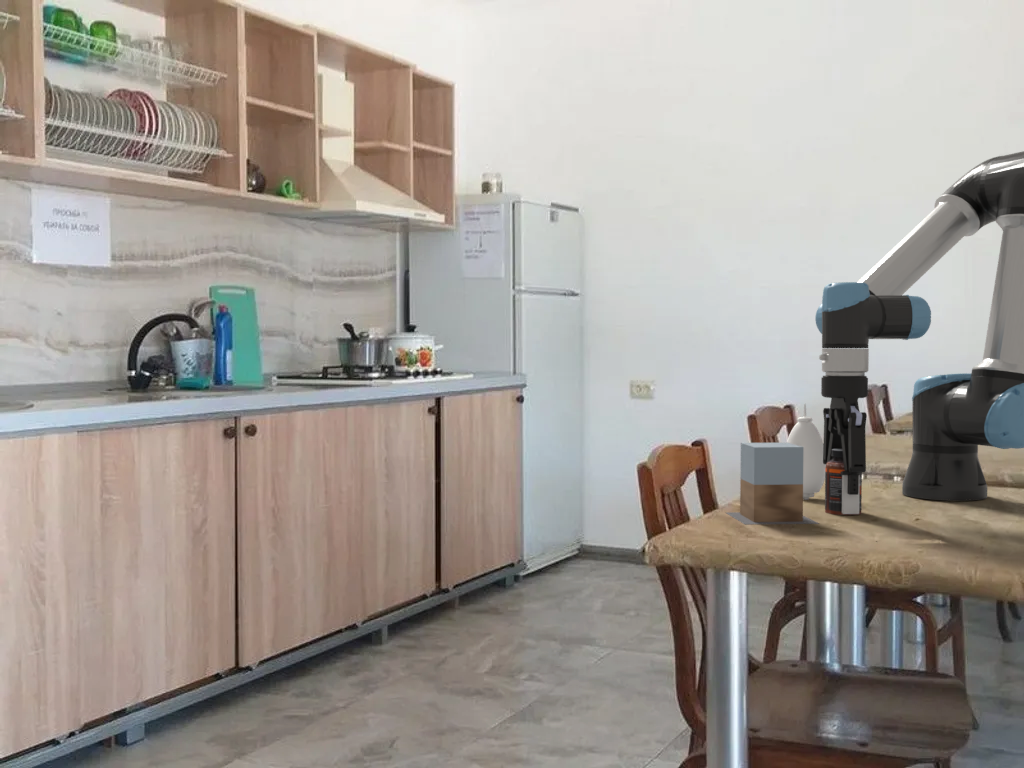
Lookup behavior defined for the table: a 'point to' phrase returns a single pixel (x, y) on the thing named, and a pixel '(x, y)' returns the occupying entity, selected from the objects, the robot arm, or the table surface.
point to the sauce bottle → (809, 454)
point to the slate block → (771, 463)
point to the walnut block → (771, 502)
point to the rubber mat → (749, 522)
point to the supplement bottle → (836, 484)
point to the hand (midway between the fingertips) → (843, 510)
